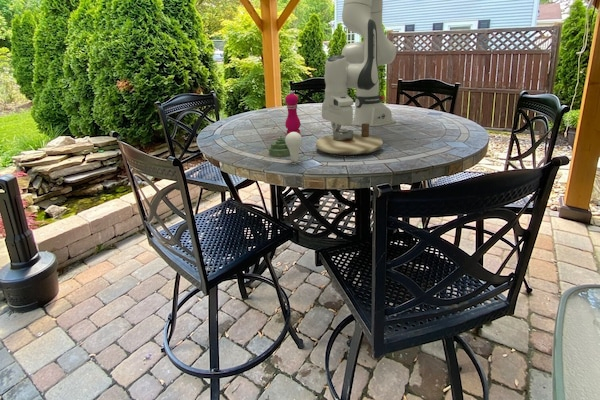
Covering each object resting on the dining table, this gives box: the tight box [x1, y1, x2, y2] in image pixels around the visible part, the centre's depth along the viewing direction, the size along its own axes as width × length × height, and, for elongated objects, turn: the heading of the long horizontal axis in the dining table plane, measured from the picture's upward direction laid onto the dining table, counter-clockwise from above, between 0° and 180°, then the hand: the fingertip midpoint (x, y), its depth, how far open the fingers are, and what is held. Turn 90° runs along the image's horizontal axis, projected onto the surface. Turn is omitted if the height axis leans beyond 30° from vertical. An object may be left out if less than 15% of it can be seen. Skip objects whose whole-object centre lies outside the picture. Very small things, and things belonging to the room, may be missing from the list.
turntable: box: [315, 123, 383, 154], centre depth 145 cm, size 26×26×6 cm
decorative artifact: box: [268, 135, 291, 158], centre depth 145 cm, size 10×7×10 cm
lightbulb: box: [284, 132, 303, 163], centre depth 133 cm, size 6×6×11 cm
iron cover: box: [332, 128, 354, 141], centre depth 149 cm, size 8×8×4 cm
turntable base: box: [324, 152, 373, 158], centre depth 147 cm, size 20×20×2 cm
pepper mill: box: [284, 90, 301, 136], centre depth 173 cm, size 7×7×20 cm
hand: (336, 133), depth 154 cm, fingers closed
